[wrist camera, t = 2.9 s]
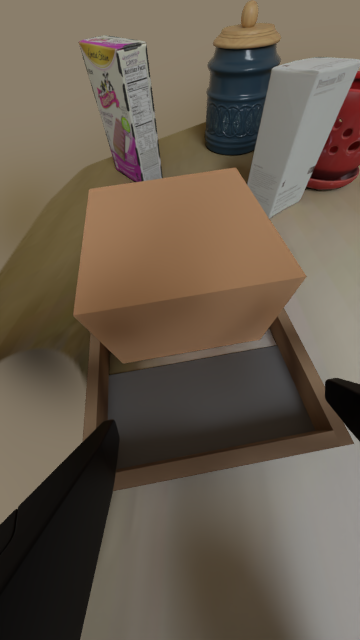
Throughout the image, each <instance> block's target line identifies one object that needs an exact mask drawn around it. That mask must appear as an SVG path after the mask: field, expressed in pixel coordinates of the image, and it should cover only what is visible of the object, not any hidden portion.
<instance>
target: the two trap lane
mask: <svg viewBox="0 0 360 640" xmlns="http://www.w3.org/2000/svg"><path fill="white" fill-rule="evenodd" d="M269 328H270V330H271V332H272V335H273V337H274V339H275V341H276V344H277V346H271V347H266V348H260V349H255V350H249V351H243V352H238V353H232V354H226V355H221V356H215V357H210V358H204V359H198V360H193V361H187V362H182V363H176V364H170V365H165V366H159V367H153V368H148V369H142V370H137V371H131V372H125V373H120V374H114V375H109V350H108V349H107V348H106V347H105V346H104V345H103V344H102V343H101V342H100V341H99V340H98V339H97V338H96V337H95V336H94V335H93V334H92V333H91V336H90V349H89V363H88V376H87V390H86V403H85V417H84V430H83V441H84V440H85V439H86V438H87V437H88V436H89V435H90V434H91V433H92V432H93V431H94V430H95V429H96V428H97V427H98V426H99V425H100V424H101V423H102V422H103V421H105V420H111V419H113V420H115V422H116V425H117V429H118V432H119V437H120V442H119V450H118V459H117V467H116V475H115V482H114V488H113V491H116V490H121V489H126V488H131V487H136V486H141V485H146V484H151V483H156V482H162V481H167V480H172V479H177V478H182V477H187V476H192V475H197V474H202V473H207V472H212V471H217V470H222V469H228V468H233V467H238V466H243V465H248V464H253V463H258V462H263V461H268V460H273V459H278V458H283V457H288V456H294V455H299V454H304V453H309V452H314V451H319V450H324V449H329V448H334V447H339V446H344V445H349V444H354V442H353V440H352V438H351V436H350V434H349V433H348V431H347V429H346V427H345V425H344V423H343V421H342V420H341V419H340V417H339V416H338V415H337V414H336V412H335V411H334V410H333V409H332V408H331V406H330V405H329V404H328V403H327V401H326V399H325V386H324V384H323V382H322V380H321V379H320V377H319V375H318V373H317V371H316V369H315V367H314V365H313V363H312V361H311V359H310V357H309V355H308V354H307V352H306V350H305V348H304V346H303V344H302V342H301V340H300V338H299V336H298V334H297V332H296V330H295V328H294V327H293V325H292V323H291V321H290V319H289V317H288V315H287V313H286V311H285V309H284V308H283V309H282V311H281V312H280V313H279V315H278V316H277V317H276V319H275V320H274V321H273V323H272V324H271V326H270V327H269Z"/></svg>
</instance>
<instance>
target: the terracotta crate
mask: <svg viewBox="0 0 360 640" xmlns="http://www.w3.org/2000/svg"><path fill="white" fill-rule="evenodd" d="M306 277H307V276H306V275H305V273H304V272H303V270H302V269H301V267H300V266H299V264H298V263H297V261H296V259H295V258H294V256H293V255H292V253H291V252H290V250H289V249H288V247H287V246H286V244H285V242H284V241H283V239H282V238H281V236H280V235H279V233H278V232H277V230H276V229H275V227H274V225H273V224H272V222H271V221H270V219H269V218H268V216H267V215H266V213H265V212H264V210H263V208H262V207H261V205H260V204H259V202H258V201H257V199H256V198H255V196H254V195H253V193H252V191H251V190H250V188H249V187H248V185H247V184H246V182H245V181H244V179H243V178H242V176H241V175H240V173H239V171H238V170H237V168H229V169H222V170H215V171H209V172H202V173H195V174H188V175H182V176H175V177H168V178H161V179H154V180H148V181H141V182H134V183H127V184H121V185H114V186H107V187H100V188H93V189H89V196H88V204H87V212H86V220H85V227H84V235H83V243H82V251H81V259H80V267H79V274H78V282H77V290H76V298H75V306H74V314H73V316H74V317H75V318H76V319H77V320H78V321H79V322H80V323H81V324H82V325H83V326H84V327H86V328H87V329H88V330H89V331H90V332H91V333H92V334H93V335H94V336H95V337H96V338H97V339H98V340H99V341H100V342H101V343H102V344H103V345H104V346H105V347H106V348H107V349H108V350H109V351H110V352H111V353H112V354H113V355H114V356H116V357H117V358H118V359H119V360H120V361H121V362H122V363H123V364H125V363H130V362H136V361H142V360H147V359H153V358H159V357H164V356H170V355H176V354H181V353H187V352H193V351H198V350H204V349H210V348H215V347H221V346H227V345H232V344H238V343H243V342H249V341H255V340H260V339H261V338H262V336H263V335H264V334H265V332H266V331H267V330H268V328H269V327H270V326H271V324H272V323H273V321H274V320H275V319H276V317H277V316H278V315H279V313H280V312H281V311H282V309H283V308H284V307H285V305H286V304H287V302H288V301H289V300H290V298H291V297H292V296H293V294H294V293H295V292H296V290H297V289H298V287H299V286H300V285H301V283H302V282H303V281H304V279H305V278H306Z"/></svg>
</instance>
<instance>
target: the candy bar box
mask: <svg viewBox="0 0 360 640" xmlns="http://www.w3.org/2000/svg"><path fill="white" fill-rule="evenodd" d="M79 45H80V49H81V52H82V55H83V59H84V62H85V65H86V69H87V72H88V76H89V79H90V82H91V86H92V89H93V92H94V96H95V99H96V102H97V106H98V109H99V112H100V115H101V119H102V122H103V125H104V129H105V132H106V136H107V139H108V142H109V146H110V149H111V152H112V156H113V159H114V163H115V166H116V169H117V170H118V171H120V172H121V173H123V174H124V175H126V176H127V177H129V178H130V179H132V180H133V181H135V182H141V181H148V180H154V179H161V178H163V177H162V169H161V160H160V152H159V144H158V137H157V128H156V119H155V111H154V104H153V96H152V88H151V80H150V72H149V63H148V55H147V45H146V42H144V41H139V40H133V39H125V38H119V37H113V36H99V37H93V38H90V39H84V40H82V41H80V42H79Z"/></svg>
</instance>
